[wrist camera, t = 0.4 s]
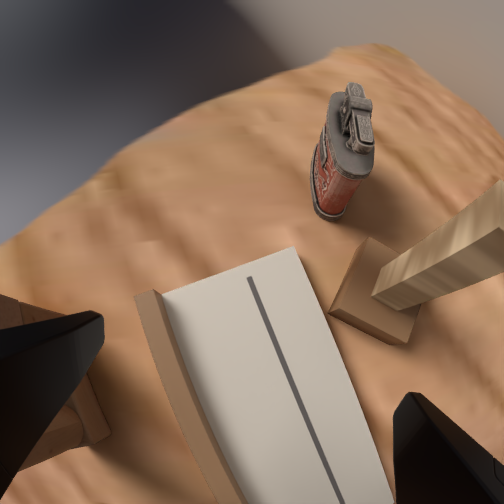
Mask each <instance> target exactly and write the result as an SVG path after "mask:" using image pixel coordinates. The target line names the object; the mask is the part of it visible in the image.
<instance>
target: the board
mask: <svg viewBox="0 0 504 504" xmlns="http://www.w3.org/2000/svg"><path fill="white" fill-rule="evenodd" d="M134 299H135V302H136V306H137V309H138V313H139V316H140V319H141V323H142V326H143V329H144V332H145V335H146V338H147V342H148V345H149V348H150V350H151V353H152V356H153V359H154V362H155V365H156V368H157V370H158V373H159V376H160V379H161V381H162V384H163V386H164V389H165V392H166V394H167V397H168V399H169V402H170V404H171V407H172V409H173V411H174V414H175V416H176V419H177V421H178V423H179V425H180V428H181V430H182V432H183V435H184V437H185V439H186V441H187V443H188V445H189V448H190V450H191V452H192V454H193V456H194V458H195V460H196V462H197V464H198V466H199V468H200V470H201V472H202V474H203V476H204V478H205V480H206V482H207V484H208V486H209V487H210V489H211V491H212V493H213V495H214V497H215V498H216V500H217V502H218V504H393V503H395V502H394V499H393V496H392V493H391V490H390V487H389V484H388V481H387V478H386V475H385V473H384V470H383V467H382V464H381V461H380V458H379V455H378V453H377V450H376V447H375V444H374V441H373V439H372V436H371V433H370V430H369V428H368V425H367V422H366V420H365V417H364V414H363V412H362V409H361V406H360V404H359V401H358V398H357V396H356V393H355V391H354V388H353V386H352V383H351V380H350V378H349V375H348V373H347V370H346V368H345V365H344V363H343V360H342V358H341V355H340V353H339V350H338V348H337V346H336V343H335V341H334V338H333V336H332V333H331V331H330V329H329V326H328V324H327V321H326V319H325V317H324V314H323V312H322V310H321V307H320V305H319V302H318V300H317V298H316V295H315V293H314V291H313V289H312V286H311V284H310V282H309V279H308V277H307V275H306V272H305V270H304V268H303V266H302V263H301V261H300V259H299V257H298V254H297V252H296V250H295V248H294V246H292V247H290V248H287V249H284V250H281V251H279V252H276V253H273V254H271V255H268V256H265V257H263V258H260V259H257V260H254V261H252V262H249V263H246V264H244V265H241V266H238V267H235V268H233V269H230V270H227V271H225V272H222V273H219V274H216V275H214V276H211V277H208V278H205V279H203V280H200V281H197V282H194V283H192V284H189V285H186V286H183V287H181V288H178V289H175V290H172V291H170V292H167V293H164V294H160V293H158V292H157V291H155V290H154V289H153V290H150V291H147V292H144V293H142V294H139V295H136V296H134Z"/></svg>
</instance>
